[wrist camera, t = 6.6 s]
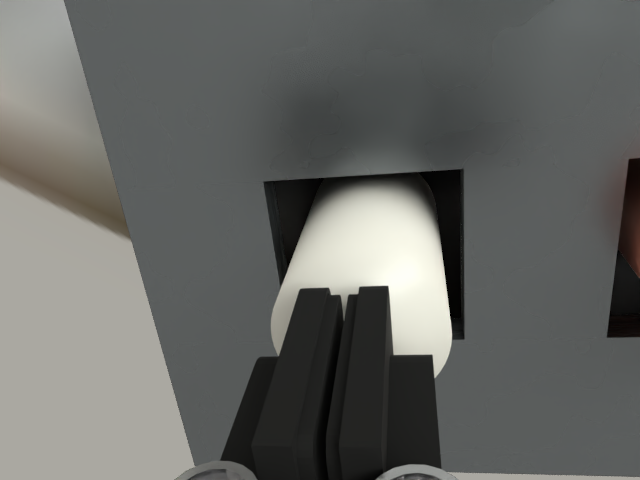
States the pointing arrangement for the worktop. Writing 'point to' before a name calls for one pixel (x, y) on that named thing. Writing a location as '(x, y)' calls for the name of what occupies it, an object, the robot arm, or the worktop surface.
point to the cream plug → (375, 257)
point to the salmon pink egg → (631, 217)
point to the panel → (384, 158)
